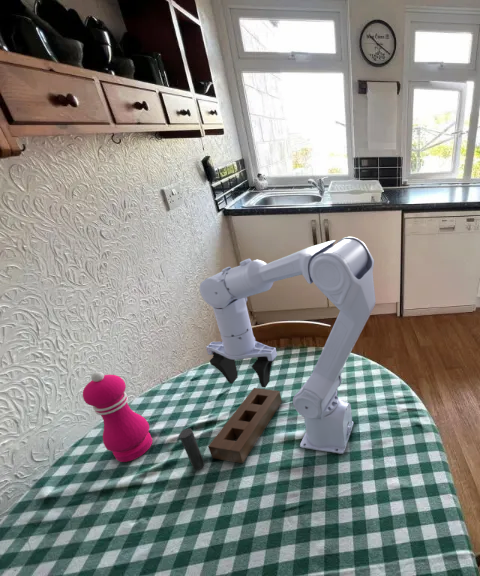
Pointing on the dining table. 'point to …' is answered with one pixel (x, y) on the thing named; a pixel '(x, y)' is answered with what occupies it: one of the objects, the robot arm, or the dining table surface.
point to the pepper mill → (117, 417)
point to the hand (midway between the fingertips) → (249, 382)
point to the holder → (245, 426)
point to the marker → (191, 448)
